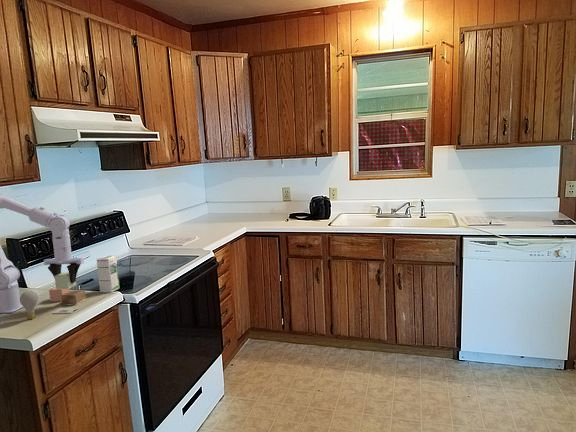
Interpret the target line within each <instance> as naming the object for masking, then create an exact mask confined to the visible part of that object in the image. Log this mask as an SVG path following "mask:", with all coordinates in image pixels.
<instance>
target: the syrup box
mask: <svg viewBox="0 0 576 432" xmlns="http://www.w3.org/2000/svg"><path fill="white" fill-rule="evenodd" d="M96 267H97V275H98V276H97V277H98V284H99V292H100V293H113V292H115V291H117V290H119V289H120V277H119V268H118V259H117V255H104V256H101V257H99V258H96Z"/></svg>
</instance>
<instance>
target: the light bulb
mask: <svg viewBox="0 0 576 432" xmlns="http://www.w3.org/2000/svg"><path fill="white" fill-rule="evenodd" d="M19 296H20V304H22V305H23V307H22V308H24V309H25V310H26V314H27V319H30V320H32V319H34V318H35V316H36V315H35V308H36V305H37V303H38V301H39V295H38V293H37V292H36V291H34V290H26V291H24V292H23V293H22V294H20V295H19Z"/></svg>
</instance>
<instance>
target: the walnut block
mask: <svg viewBox="0 0 576 432" xmlns="http://www.w3.org/2000/svg"><path fill="white" fill-rule="evenodd" d="M85 298H86V299H87V297H86V290H69V292H67V293H65V294H63V295H61V299H62V301H61V305H62V304H77V303H78V302H80V301H82V300H83V299H85Z"/></svg>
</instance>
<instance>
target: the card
mask: <svg viewBox="0 0 576 432" xmlns="http://www.w3.org/2000/svg"><path fill="white" fill-rule="evenodd" d="M73 308H74V307H60V308H57V309H56V310H55V311H54V310H53V312H51V313H52V315H55V314H56V315H59V314H60V313H61V314H63V313H70V314H72V312H73V311H74V310H73ZM74 312H75V311H74ZM74 312H73V313H74ZM61 314H60V315H61ZM63 315H64V314H63Z"/></svg>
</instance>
